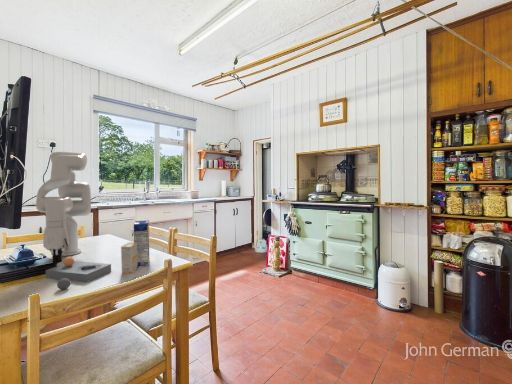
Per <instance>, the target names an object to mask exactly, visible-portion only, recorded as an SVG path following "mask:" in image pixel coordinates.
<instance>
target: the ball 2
mask: <svg viewBox="0 0 512 384" xmlns="http://www.w3.org/2000/svg"><path fill="white" fill-rule="evenodd" d="M71 283H72V281H70V280H69V279H67V278H63V279H58V282H57V284H56V288H58V289H59V290H66V289H67V290H68V288H70V286H71Z"/></svg>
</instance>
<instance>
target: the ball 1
mask: <svg viewBox="0 0 512 384" xmlns="http://www.w3.org/2000/svg"><path fill="white" fill-rule="evenodd" d="M74 261H75V259H74V257H72V256H65V258H63V259H62V265H63V264H64V265H65V266H71V265H73V263H74Z"/></svg>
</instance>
